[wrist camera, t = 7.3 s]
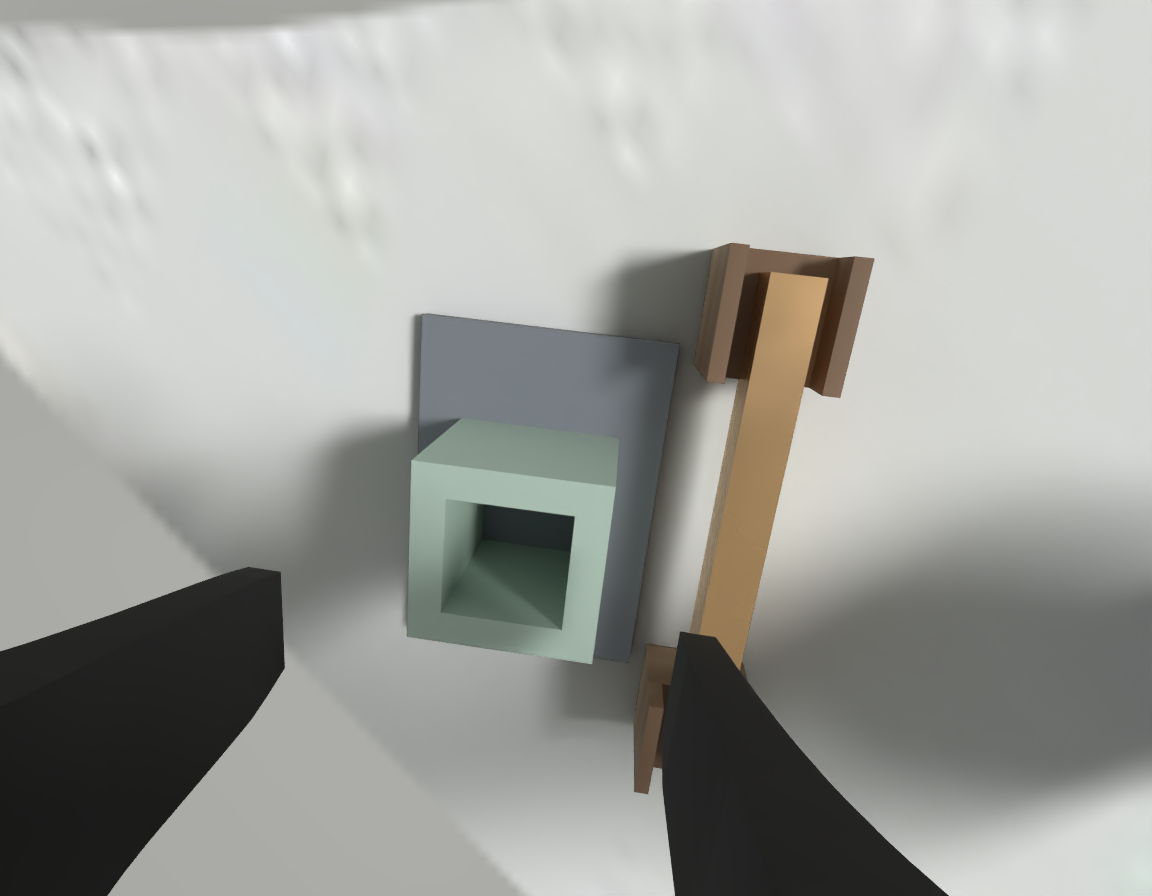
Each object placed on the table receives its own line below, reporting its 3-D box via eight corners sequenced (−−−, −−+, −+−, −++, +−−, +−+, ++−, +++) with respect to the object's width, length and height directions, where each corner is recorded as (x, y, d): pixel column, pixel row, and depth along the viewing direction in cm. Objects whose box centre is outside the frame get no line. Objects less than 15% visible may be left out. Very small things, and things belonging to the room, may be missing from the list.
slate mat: (678, 343, 16) (679, 345, 15) (628, 654, 19) (628, 663, 18) (427, 313, 16) (422, 314, 16) (416, 623, 19) (412, 630, 19)
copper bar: (811, 278, 13) (828, 278, 12) (705, 761, 17) (711, 796, 16) (759, 272, 13) (770, 272, 12) (666, 755, 17) (668, 789, 16)
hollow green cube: (619, 437, 16) (615, 487, 12) (600, 580, 18) (592, 664, 14) (461, 418, 17) (411, 460, 13) (454, 559, 18) (406, 636, 14)
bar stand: (830, 261, 15) (874, 258, 12) (723, 734, 19) (739, 808, 17) (713, 249, 15) (730, 243, 12) (633, 720, 19) (634, 791, 17)
